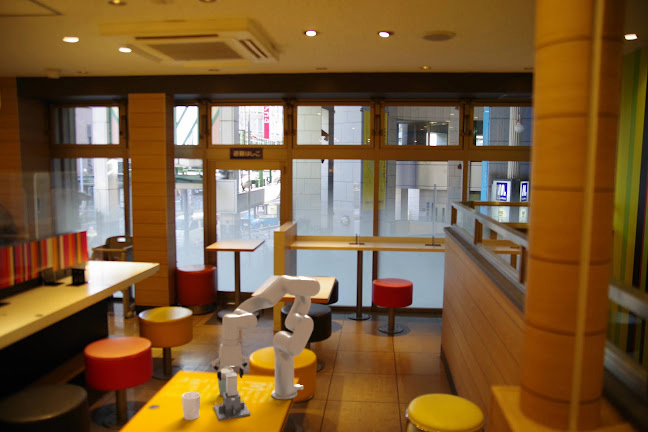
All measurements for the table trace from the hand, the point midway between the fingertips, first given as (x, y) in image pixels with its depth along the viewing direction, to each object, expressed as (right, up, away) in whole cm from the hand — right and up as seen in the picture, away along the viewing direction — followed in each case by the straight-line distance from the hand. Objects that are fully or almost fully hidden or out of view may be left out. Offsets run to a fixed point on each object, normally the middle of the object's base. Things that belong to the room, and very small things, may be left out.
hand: (230, 378), depth 236 cm
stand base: (0, -16, +2) cm, 16 cm away
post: (0, -15, +1) cm, 15 cm away
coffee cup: (-6, -14, +21) cm, 26 cm away
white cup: (-17, -16, -4) cm, 24 cm away
